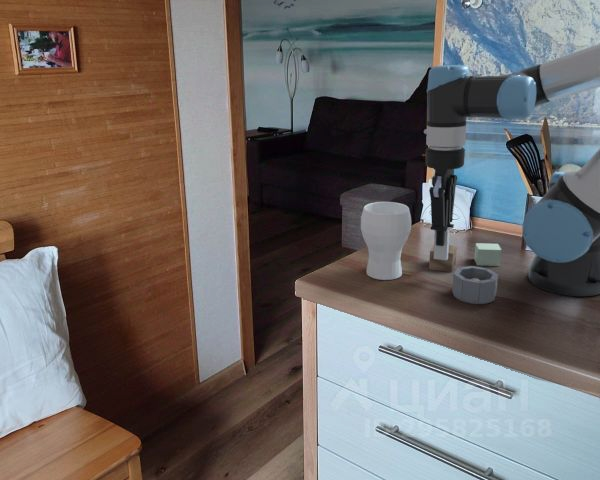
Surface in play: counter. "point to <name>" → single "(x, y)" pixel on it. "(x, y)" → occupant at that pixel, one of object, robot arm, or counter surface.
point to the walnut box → (443, 264)
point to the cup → (385, 237)
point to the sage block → (487, 254)
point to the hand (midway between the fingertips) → (440, 258)
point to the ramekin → (475, 285)
